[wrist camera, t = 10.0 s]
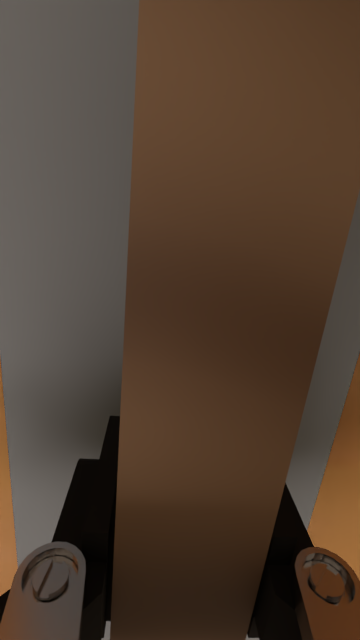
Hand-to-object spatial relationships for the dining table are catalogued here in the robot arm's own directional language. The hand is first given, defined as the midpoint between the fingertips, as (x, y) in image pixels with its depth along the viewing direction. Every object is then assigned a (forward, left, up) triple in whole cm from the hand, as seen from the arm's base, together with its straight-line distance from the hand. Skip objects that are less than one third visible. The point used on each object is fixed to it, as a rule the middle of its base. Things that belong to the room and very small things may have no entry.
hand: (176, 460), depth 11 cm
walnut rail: (0, 0, +2) cm, 2 cm away
